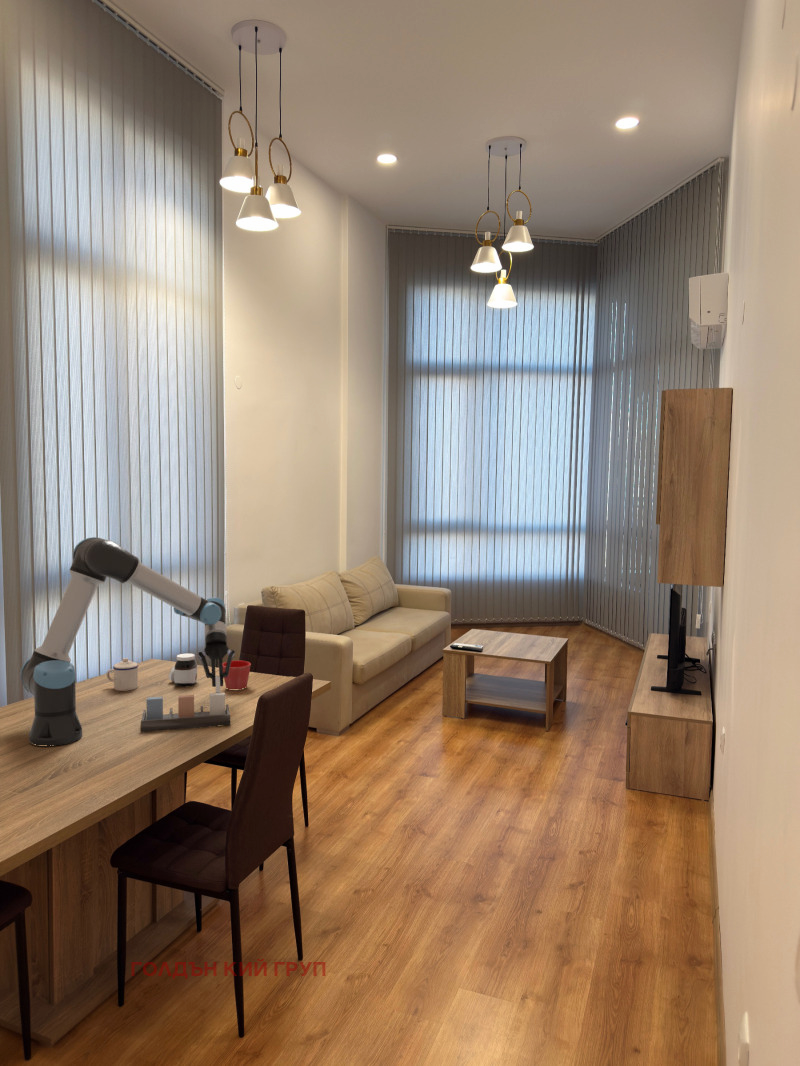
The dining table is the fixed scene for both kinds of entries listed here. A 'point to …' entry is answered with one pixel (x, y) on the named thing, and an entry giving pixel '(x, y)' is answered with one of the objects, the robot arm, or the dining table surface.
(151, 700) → the key slate
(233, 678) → the flower pot
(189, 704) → the key terracotta
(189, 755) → the dining table surface
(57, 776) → the dining table surface
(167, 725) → the grey compartment tray
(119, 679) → the teacup with lid
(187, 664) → the spread jar
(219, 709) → the key offwhite
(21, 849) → the dining table surface
